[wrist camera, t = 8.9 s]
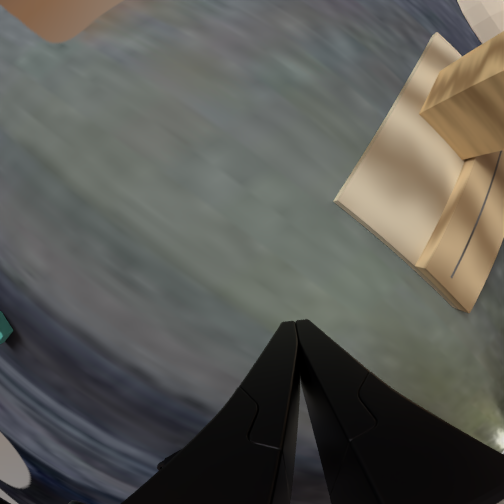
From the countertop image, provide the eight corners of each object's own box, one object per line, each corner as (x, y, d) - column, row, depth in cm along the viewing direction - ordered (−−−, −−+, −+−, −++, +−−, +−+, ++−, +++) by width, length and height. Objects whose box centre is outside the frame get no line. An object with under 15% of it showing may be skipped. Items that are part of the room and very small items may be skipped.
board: (452, 307, 23) (469, 313, 21) (332, 201, 22) (345, 198, 19) (517, 134, 23) (530, 130, 21) (432, 35, 21) (444, 25, 19)
